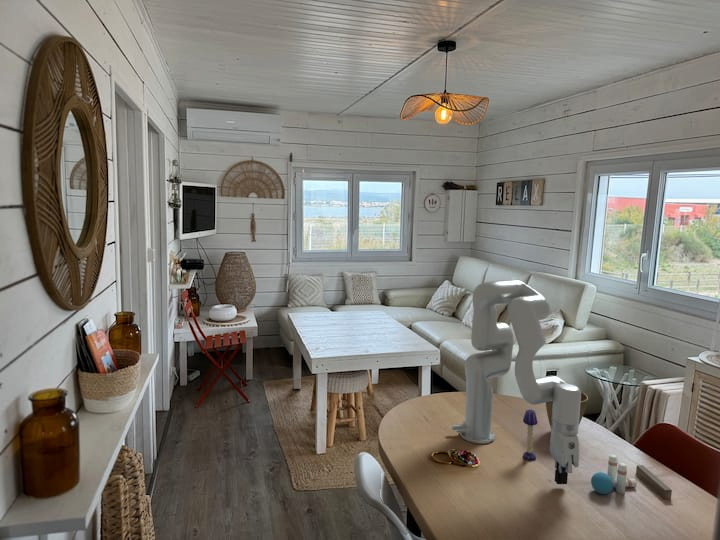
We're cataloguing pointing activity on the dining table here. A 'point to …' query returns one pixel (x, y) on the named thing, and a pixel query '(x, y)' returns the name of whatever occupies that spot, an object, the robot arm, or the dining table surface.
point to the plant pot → (582, 408)
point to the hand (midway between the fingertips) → (560, 482)
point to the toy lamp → (530, 433)
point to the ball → (602, 483)
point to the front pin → (628, 482)
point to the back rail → (654, 482)
